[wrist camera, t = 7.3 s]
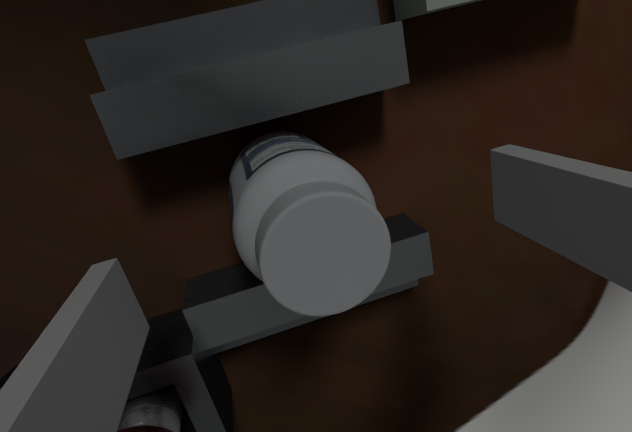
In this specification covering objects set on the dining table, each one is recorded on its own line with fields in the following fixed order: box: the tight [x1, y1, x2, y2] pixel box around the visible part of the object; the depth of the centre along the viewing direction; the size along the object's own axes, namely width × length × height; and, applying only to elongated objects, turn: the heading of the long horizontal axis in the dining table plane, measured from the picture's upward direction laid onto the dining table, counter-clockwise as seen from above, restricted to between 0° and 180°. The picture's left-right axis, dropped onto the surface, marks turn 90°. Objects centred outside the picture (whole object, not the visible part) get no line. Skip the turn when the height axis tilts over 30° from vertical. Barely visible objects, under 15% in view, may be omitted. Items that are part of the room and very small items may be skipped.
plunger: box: [117, 384, 183, 432], centre depth 18 cm, size 4×4×6 cm
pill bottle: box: [228, 132, 391, 317], centre depth 15 cm, size 5×5×9 cm
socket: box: [85, 0, 434, 354], centre depth 18 cm, size 12×16×3 cm
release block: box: [127, 309, 233, 432], centre depth 19 cm, size 6×6×4 cm
